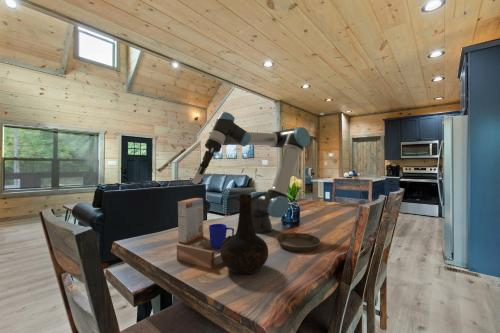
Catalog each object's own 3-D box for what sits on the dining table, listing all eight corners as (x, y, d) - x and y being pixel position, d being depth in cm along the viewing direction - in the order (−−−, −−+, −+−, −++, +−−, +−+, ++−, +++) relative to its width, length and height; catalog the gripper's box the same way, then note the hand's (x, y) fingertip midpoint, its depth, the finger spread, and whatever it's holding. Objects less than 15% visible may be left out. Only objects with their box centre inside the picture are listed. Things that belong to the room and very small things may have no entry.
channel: (203, 247, 113) (203, 234, 113) (236, 254, 104) (236, 240, 104) (176, 259, 98) (176, 244, 98) (211, 268, 89) (211, 252, 89)
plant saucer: (311, 257, 102) (311, 249, 102) (269, 248, 113) (269, 241, 113) (325, 243, 119) (325, 237, 119) (287, 237, 130) (287, 231, 130)
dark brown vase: (225, 258, 99) (225, 191, 99) (269, 260, 97) (268, 191, 97) (215, 278, 81) (215, 196, 81) (267, 281, 80) (267, 197, 80)
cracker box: (195, 235, 133) (195, 197, 133) (203, 236, 130) (203, 198, 130) (177, 242, 120) (177, 200, 120) (186, 244, 118) (186, 201, 118)
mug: (231, 250, 108) (231, 228, 108) (206, 249, 111) (206, 227, 111) (236, 245, 116) (236, 224, 116) (212, 243, 119) (212, 223, 119)
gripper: (204, 144, 124) (186, 181, 119) (211, 131, 101) (189, 176, 96) (217, 150, 126) (200, 187, 121) (227, 139, 103) (206, 184, 97)
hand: (195, 182), depth 108 cm, fingers open, 13 cm apart
